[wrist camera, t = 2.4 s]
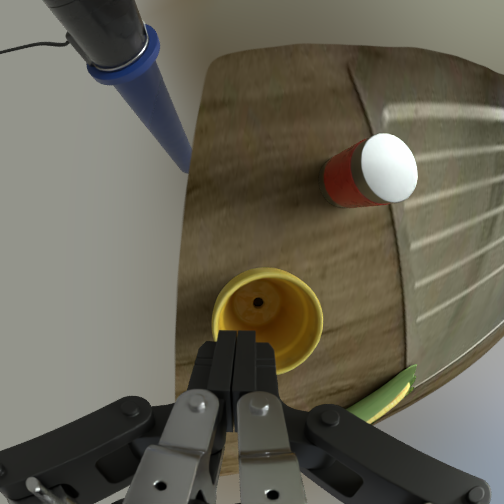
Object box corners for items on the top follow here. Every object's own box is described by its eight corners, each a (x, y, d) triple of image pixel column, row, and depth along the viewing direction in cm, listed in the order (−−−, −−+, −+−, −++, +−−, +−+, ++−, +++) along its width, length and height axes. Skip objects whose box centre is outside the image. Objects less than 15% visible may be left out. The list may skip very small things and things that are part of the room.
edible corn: (311, 424, 37) (320, 442, 32) (412, 353, 38) (428, 364, 33) (324, 439, 38) (332, 456, 33) (418, 371, 38) (433, 383, 34)
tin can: (314, 203, 33) (357, 195, 22) (320, 151, 33) (361, 123, 21) (362, 212, 34) (416, 210, 23) (366, 163, 33) (418, 144, 22)
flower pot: (305, 266, 34) (336, 282, 24) (287, 343, 35) (308, 381, 25) (222, 250, 33) (222, 262, 23) (208, 331, 34) (203, 369, 24)
